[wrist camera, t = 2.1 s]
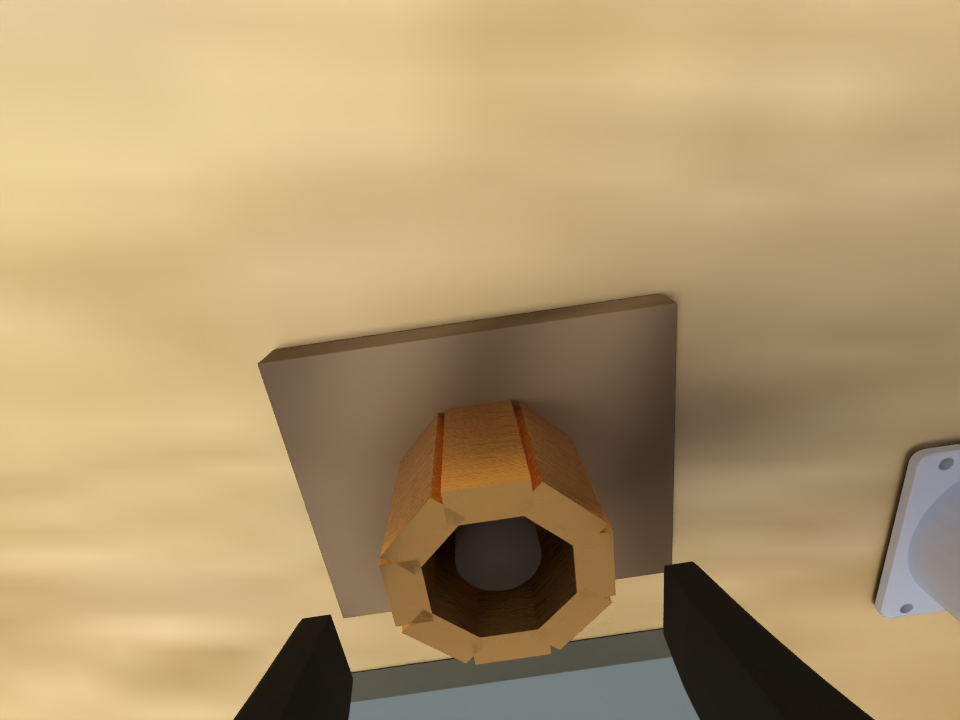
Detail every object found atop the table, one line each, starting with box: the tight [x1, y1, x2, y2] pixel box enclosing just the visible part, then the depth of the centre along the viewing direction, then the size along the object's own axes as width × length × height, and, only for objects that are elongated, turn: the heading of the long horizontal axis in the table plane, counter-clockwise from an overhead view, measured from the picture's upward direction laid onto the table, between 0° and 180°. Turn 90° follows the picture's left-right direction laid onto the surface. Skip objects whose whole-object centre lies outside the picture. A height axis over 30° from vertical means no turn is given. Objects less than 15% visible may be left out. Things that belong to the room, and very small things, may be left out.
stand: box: [258, 294, 677, 618], centre depth 14 cm, size 12×10×4 cm
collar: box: [379, 400, 616, 665], centre depth 13 cm, size 6×6×4 cm
